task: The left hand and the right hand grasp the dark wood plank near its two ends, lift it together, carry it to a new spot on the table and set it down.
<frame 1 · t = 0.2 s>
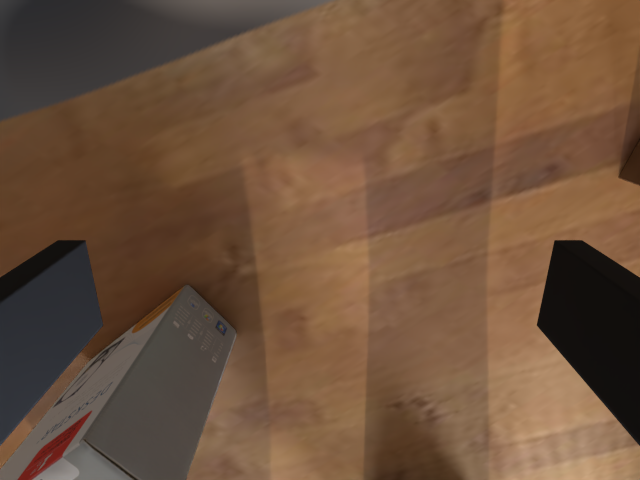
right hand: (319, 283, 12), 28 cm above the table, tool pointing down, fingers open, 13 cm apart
hard drive box: (161, 345, 46), on the table
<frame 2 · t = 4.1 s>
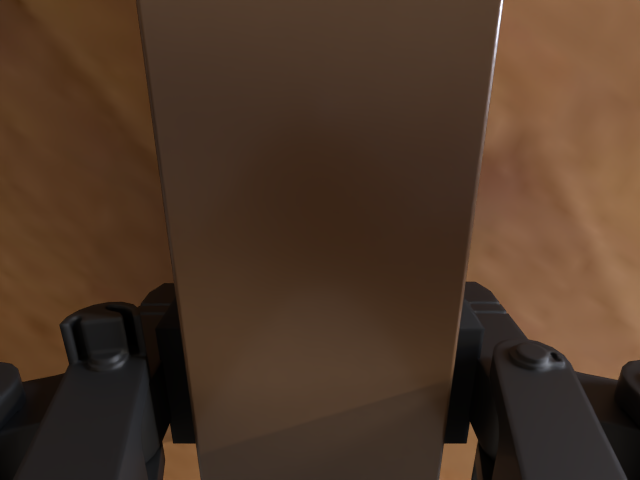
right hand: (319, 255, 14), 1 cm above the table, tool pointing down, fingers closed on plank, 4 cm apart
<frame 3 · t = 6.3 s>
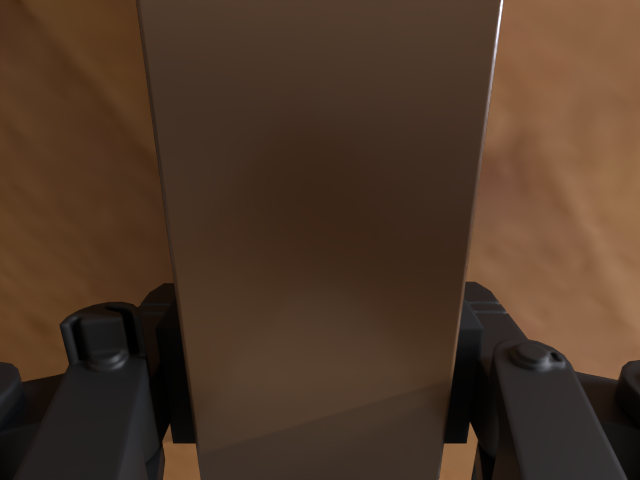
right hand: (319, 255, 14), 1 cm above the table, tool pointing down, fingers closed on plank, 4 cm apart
when the left hand's fingers open (3 cm above the table, at t = 11.3 s): plank drops 2 cm, on the table.
when the right hand's fingers open (2 cm above the table, at t = 11.3 s): plank drops 2 cm, on the table.
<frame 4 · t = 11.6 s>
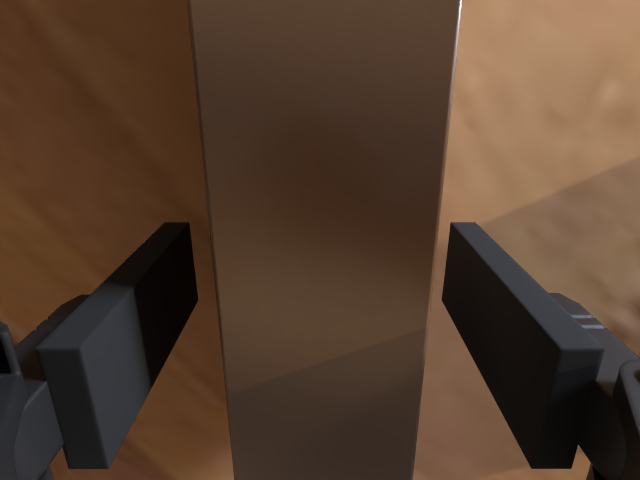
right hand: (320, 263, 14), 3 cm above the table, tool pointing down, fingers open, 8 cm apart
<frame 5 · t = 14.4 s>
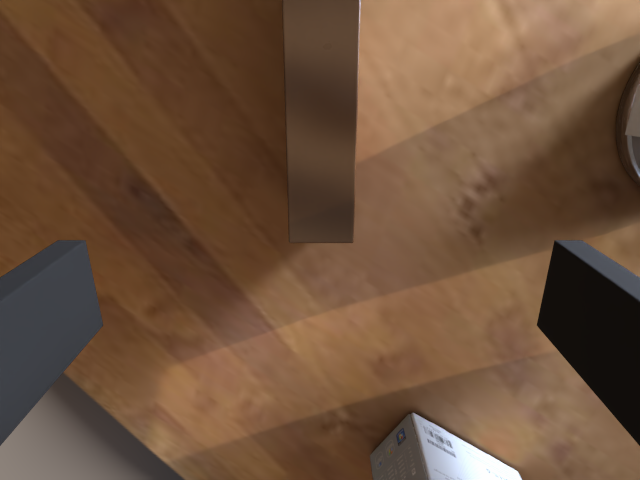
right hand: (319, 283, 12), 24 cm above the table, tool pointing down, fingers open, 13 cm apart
hard drive box: (444, 461, 48), on the table
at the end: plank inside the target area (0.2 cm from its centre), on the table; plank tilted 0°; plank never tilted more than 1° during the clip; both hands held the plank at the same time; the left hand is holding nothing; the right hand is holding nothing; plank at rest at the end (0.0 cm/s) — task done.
